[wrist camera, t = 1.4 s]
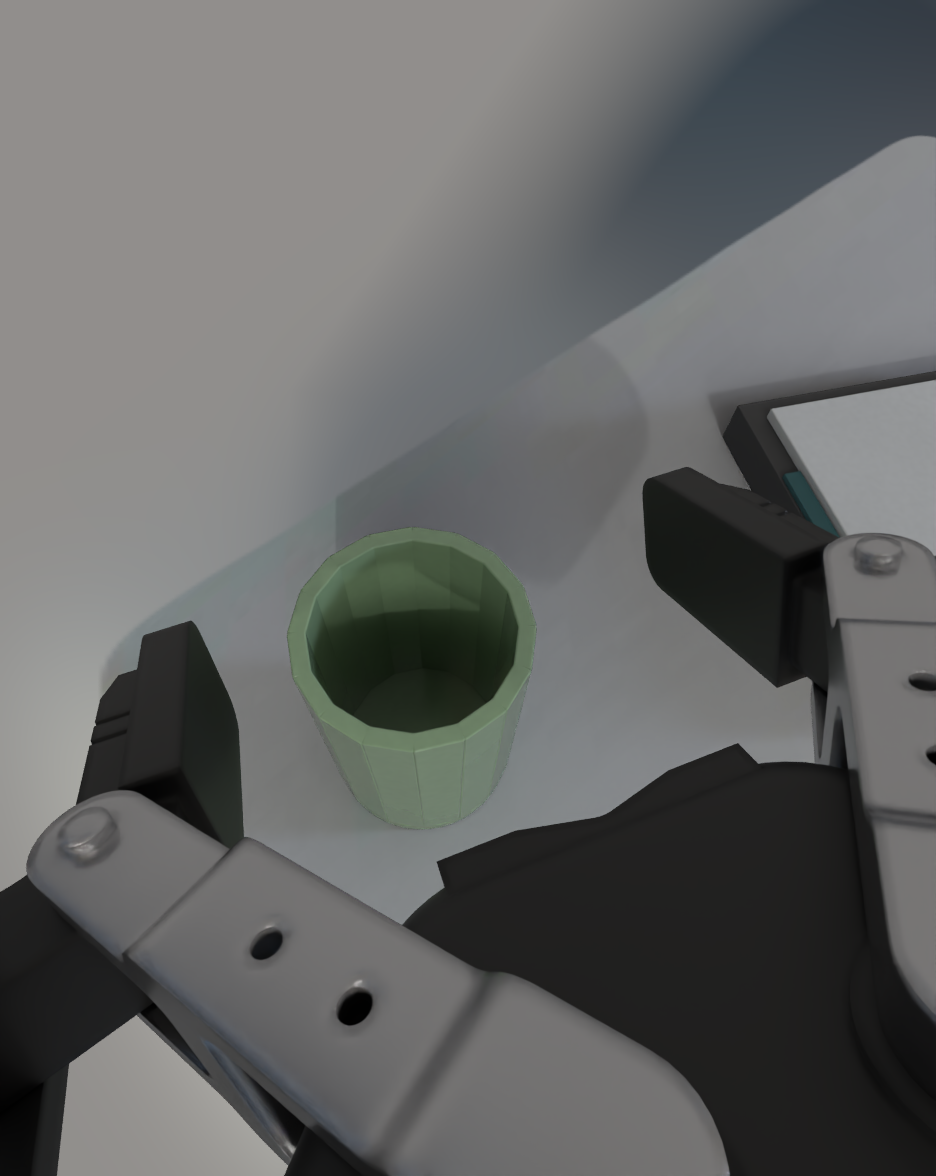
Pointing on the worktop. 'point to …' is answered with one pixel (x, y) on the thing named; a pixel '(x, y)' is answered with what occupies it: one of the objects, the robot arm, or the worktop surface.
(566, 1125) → the robot arm
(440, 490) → the worktop surface
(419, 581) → the tumbler
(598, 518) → the worktop surface
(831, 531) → the scale
